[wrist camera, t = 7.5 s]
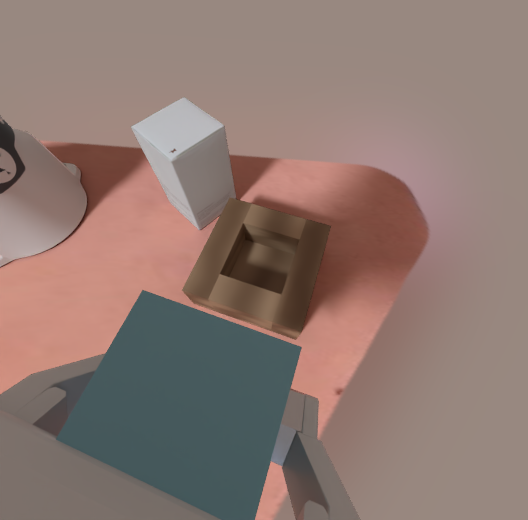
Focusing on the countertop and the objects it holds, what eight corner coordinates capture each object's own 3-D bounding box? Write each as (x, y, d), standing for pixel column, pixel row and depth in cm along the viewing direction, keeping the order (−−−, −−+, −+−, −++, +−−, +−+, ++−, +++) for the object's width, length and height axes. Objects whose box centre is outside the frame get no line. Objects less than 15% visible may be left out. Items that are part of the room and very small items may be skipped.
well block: (193, 303, 31) (182, 290, 27) (233, 220, 36) (229, 197, 32) (295, 339, 29) (301, 332, 25) (322, 246, 35) (330, 226, 30)
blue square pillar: (186, 409, 15) (42, 462, 5) (214, 343, 17) (142, 290, 7) (257, 438, 15) (242, 563, 5) (278, 367, 16) (301, 346, 6)
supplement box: (238, 202, 38) (227, 125, 26) (199, 232, 36) (168, 162, 24) (207, 175, 40) (184, 94, 29) (168, 202, 38) (127, 125, 26)
